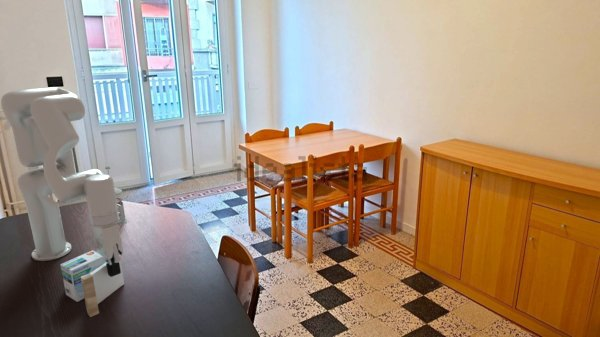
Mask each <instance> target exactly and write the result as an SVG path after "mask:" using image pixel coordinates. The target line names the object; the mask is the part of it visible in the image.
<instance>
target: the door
mask: <svg viewBox="0 0 600 337" xmlns="http://www.w3.org/2000/svg"><path fill="white" fill-rule="evenodd" d="M119 264H120V270H121V273H120V274H118V275H115V276H113V277H110V276H109V275H108V272H107V266H106V262H105V264H103V265H102V266H100V267H99V268H97V269H96V270H94V271H93V272H91V273H90V274H91V275H92V276H93V281H94V286H95V292H96V298H97V303H98V305H99V304H100V303H101V302H103V301H104V300H105V299H106V298H107V297H110V296H111V295H112V294H113V293H114V292H115V291H118V289H119V288H121V287H122V286H123V285H124V284H125V280H124V279H125V278H124V272H123V266H122V259H121V257H120V262H119Z"/></svg>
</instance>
